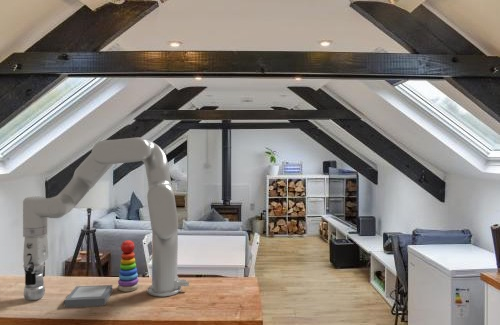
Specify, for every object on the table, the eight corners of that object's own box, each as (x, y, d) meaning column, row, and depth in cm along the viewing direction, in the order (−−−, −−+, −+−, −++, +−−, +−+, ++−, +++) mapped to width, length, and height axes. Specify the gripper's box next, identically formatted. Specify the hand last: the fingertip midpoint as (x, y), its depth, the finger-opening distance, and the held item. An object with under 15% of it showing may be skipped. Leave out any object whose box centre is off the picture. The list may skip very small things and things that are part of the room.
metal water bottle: (21, 299, 133) (20, 243, 133) (41, 294, 138) (41, 240, 138) (26, 304, 129) (26, 247, 128) (47, 298, 134) (47, 243, 133)
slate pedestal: (112, 291, 142) (112, 284, 142) (104, 305, 129) (104, 297, 129) (76, 292, 140) (76, 285, 140) (64, 307, 127) (64, 299, 127)
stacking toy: (141, 284, 149) (141, 238, 149) (135, 292, 141) (136, 243, 141) (121, 284, 149) (121, 238, 148) (114, 292, 141) (115, 243, 141)
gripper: (36, 236, 125) (36, 289, 125) (55, 226, 142) (55, 272, 142) (12, 237, 124) (12, 290, 124) (34, 226, 141) (34, 273, 141)
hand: (35, 280), depth 133 cm, fingers open, 7 cm apart
